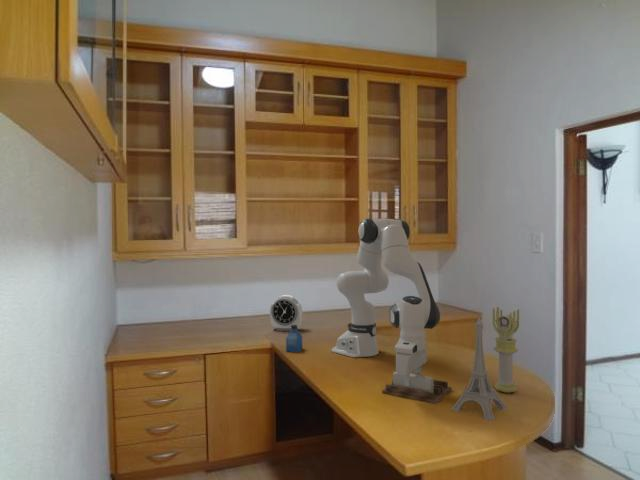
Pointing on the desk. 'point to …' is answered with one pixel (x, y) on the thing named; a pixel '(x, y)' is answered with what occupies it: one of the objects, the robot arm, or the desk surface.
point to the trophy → (505, 348)
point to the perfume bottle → (294, 340)
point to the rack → (420, 392)
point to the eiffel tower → (480, 382)
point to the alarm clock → (285, 313)
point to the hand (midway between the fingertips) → (412, 381)
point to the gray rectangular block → (415, 382)
